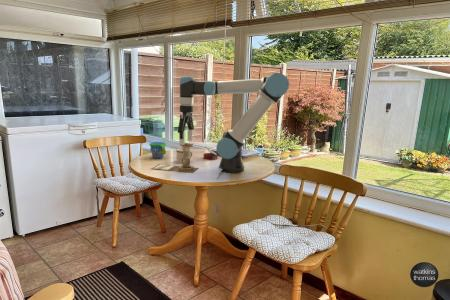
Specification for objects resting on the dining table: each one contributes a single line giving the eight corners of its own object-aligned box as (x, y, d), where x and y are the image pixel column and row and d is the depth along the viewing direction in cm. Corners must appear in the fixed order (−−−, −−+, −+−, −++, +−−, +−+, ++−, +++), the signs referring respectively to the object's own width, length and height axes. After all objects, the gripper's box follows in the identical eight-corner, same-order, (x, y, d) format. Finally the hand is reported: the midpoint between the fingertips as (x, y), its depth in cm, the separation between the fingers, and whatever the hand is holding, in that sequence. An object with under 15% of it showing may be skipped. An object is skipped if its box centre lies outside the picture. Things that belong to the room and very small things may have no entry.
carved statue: (193, 169, 178) (193, 143, 175) (191, 171, 174) (191, 144, 171) (181, 168, 179) (181, 142, 176) (179, 169, 176) (179, 143, 172)
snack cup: (145, 156, 214) (145, 142, 212) (159, 154, 220) (159, 140, 218) (156, 160, 202) (155, 145, 200) (170, 158, 209) (170, 144, 206)
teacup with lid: (182, 166, 191) (182, 147, 188) (173, 163, 196) (173, 145, 194) (196, 162, 199) (196, 145, 197) (187, 160, 205) (187, 143, 203)
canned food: (207, 163, 219) (210, 150, 222) (219, 163, 213) (222, 150, 216) (198, 158, 210) (201, 144, 213) (209, 158, 205) (213, 144, 207)
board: (199, 170, 182) (199, 165, 181) (192, 175, 170) (193, 170, 169) (158, 166, 187) (158, 162, 186) (149, 171, 175) (149, 166, 175)
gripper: (187, 103, 182) (187, 138, 186) (171, 105, 158) (171, 145, 162) (199, 104, 181) (198, 139, 185) (185, 106, 157) (184, 147, 161)
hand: (185, 142), depth 174 cm, fingers open, 13 cm apart
